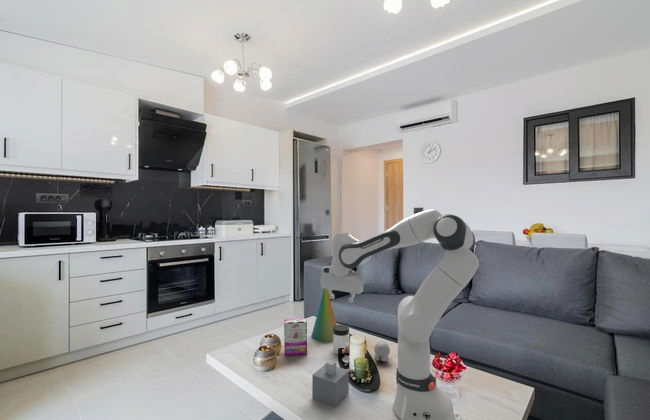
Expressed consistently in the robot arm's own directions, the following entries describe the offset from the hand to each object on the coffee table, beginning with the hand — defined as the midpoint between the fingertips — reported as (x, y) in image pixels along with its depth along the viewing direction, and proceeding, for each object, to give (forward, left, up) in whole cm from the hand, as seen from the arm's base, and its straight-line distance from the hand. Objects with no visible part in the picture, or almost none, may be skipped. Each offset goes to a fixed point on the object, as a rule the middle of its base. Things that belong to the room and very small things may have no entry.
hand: (341, 300), depth 135 cm
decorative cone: (+25, -27, -31) cm, 48 cm away
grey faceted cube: (-5, +18, -31) cm, 36 cm away
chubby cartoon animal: (-12, -20, -31) cm, 39 cm away
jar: (+9, -16, -31) cm, 36 cm away
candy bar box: (+27, -2, -31) cm, 41 cm away
